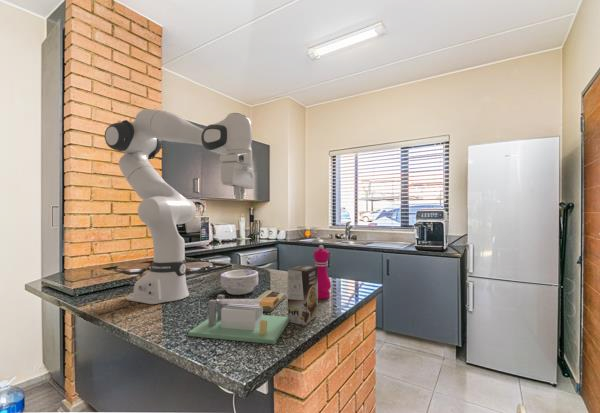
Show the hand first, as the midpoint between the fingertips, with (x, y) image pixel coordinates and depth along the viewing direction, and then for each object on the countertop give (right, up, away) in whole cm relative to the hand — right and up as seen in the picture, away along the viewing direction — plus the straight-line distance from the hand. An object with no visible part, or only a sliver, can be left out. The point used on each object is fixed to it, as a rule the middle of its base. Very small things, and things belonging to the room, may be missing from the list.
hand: (239, 200), depth 100 cm
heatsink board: (+5, -37, -18) cm, 41 cm away
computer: (+10, -38, +4) cm, 39 cm away
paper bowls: (-4, -38, +19) cm, 42 cm away
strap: (+5, -30, -18) cm, 35 cm away
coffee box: (+22, -37, -11) cm, 45 cm away
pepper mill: (+29, -37, +12) cm, 49 cm away
